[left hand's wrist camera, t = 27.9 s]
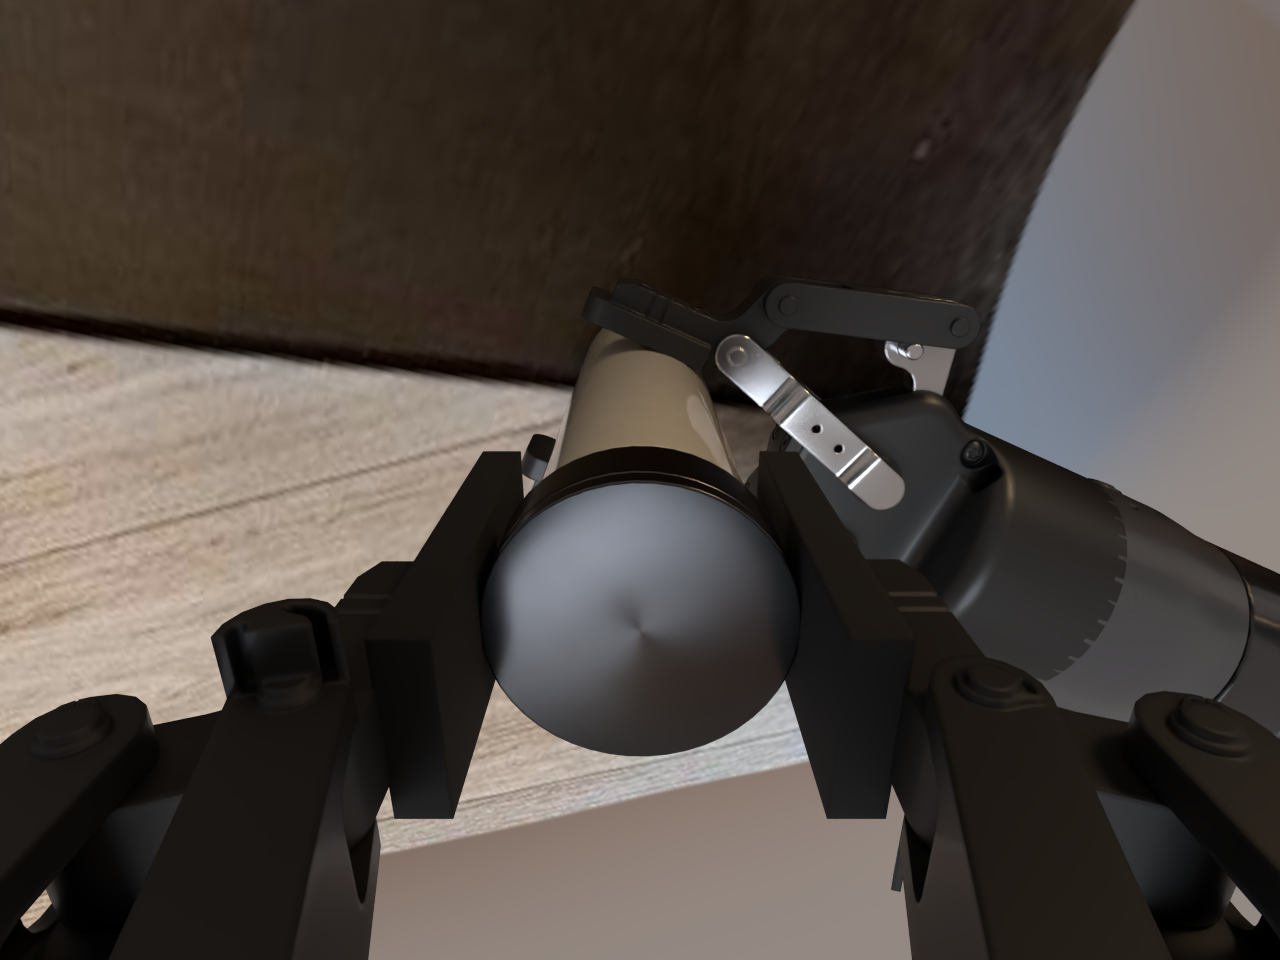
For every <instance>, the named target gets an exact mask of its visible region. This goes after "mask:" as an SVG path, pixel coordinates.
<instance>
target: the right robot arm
mask: <svg viewBox="0 0 1280 960" xmlns="http://www.w3.org/2000/svg"><path fill="white" fill-rule="evenodd" d="M581 316H582V317H583V318H585V319H586V320H588V321H590V322H592V323H594V324H596V325H598V326H600V327H603V328H605V329H607V330H610V331H612V332H614V333H616V334H619V335H621V336H623V337H626V338H628V339H630V340H632V341H635V342H637V343H639V344H642V345H644V346H646V347H648V348H651V349H653V350H655V351H657V352H660V353H662V354H664V355H667V356H670V357H672V358H674V359H676V360H678V361H680V362H683V363H685V364H687V365H689V366H692V367H694V368H696V369H698V370H701V371H702V369H703V367H704V365H705V363H706V364H709V365H711V366H713V367H715V368H718V369H719V370H720V371H721V372H722V373H723V374H724V375H726V376H727V377H728V378H729V379H730V380H731V381H732V382H733V383H735V384H736V385H737V386H738V387H739V388H740V389H741V390H742V391H744V392H745V393H746V394H747V395H748V396H749V397H750V398H752V399H753V400H754V401H755V402H756V403H757V404H758V405H759V406H761V407H762V408H763V409H764V410H765V411H766V412H767V413H768V414H769V416H770V417H771V418H772V419H773V420H774V421H775V422H776V423H777V424H776V426H775V428H774V430H773V432H772V434H771V436H770V439H769V444H768V448H767V451H797V452H798V453H799V455H800V457H801V458H802V460H803V461H804V463H805V464H806V466H807V468H808V469H809V471H810V472H811V474H812V476H813V477H814V479H815V480H816V482H817V483H818V485H819V487H820V488H821V490H822V491H823V493H824V495H825V496H826V498H827V499H828V501H829V502H830V504H831V506H832V507H833V509H834V510H835V512H836V513H837V515H838V517H839V518H840V520H841V521H842V523H843V525H844V526H845V528H846V529H847V531H848V532H849V534H850V536H851V537H852V539H853V540H854V542H855V544H856V545H857V547H858V548H859V550H860V551H861V553H862V555H863V556H864V558H865V559H899V560H901V561H902V562H904V563H906V564H907V565H909V566H910V567H912V568H913V569H915V570H917V571H918V572H920V573H921V574H923V575H924V576H925V578H926V579H927V580H928V582H929V583H930V584H931V586H932V587H933V588H934V590H935V591H936V592H937V597H941V599H942V600H943V601H944V603H945V604H946V605H947V607H948V608H949V609H948V610H949V612H952V613H953V615H954V616H955V617H956V618H957V620H958V621H959V622H960V624H961V625H962V626H963V628H964V629H965V630H966V632H967V633H968V634H969V636H970V637H971V638H972V639H973V641H974V642H975V643H976V645H977V646H978V647H979V649H980V650H981V651H982V653H983V654H984V655H985V657H987V658H992V659H996V660H1000V661H1003V662H1006V663H1008V664H1010V665H1013V666H1015V667H1017V668H1019V669H1022V670H1024V671H1025V672H1027V673H1028V674H1030V675H1031V676H1032V677H1034V678H1035V679H1037V680H1038V681H1039V682H1041V683H1042V684H1043V685H1044V686H1045V688H1046V689H1047V690H1048V692H1049V693H1050V694H1051V696H1052V697H1053V699H1054V701H1055V703H1056V705H1057V707H1060V708H1064V709H1068V710H1071V711H1075V712H1080V713H1085V714H1090V715H1095V716H1100V717H1105V718H1110V719H1114V720H1119V721H1124V722H1129V720H1130V717H1131V713H1132V710H1133V707H1134V704H1135V702H1136V701H1137V700H1138V699H1140V698H1141V697H1142V696H1143V695H1145V694H1147V693H1154V692H1161V691H1170V692H1179V693H1187V694H1194V695H1198V696H1203V698H1209V699H1212V700H1215V701H1218V702H1221V703H1223V704H1224V705H1226V706H1228V707H1230V708H1232V709H1234V710H1236V711H1239V712H1241V713H1243V714H1245V715H1247V716H1248V717H1250V718H1251V719H1253V720H1254V721H1256V722H1257V723H1259V724H1260V725H1262V726H1263V727H1265V728H1266V729H1268V730H1269V731H1270V732H1272V733H1273V734H1274V735H1275V736H1276V737H1278V738H1279V739H1280V574H1278V573H1276V572H1274V571H1272V570H1270V569H1267V568H1265V567H1263V566H1261V565H1258V564H1256V563H1254V562H1252V561H1250V560H1247V559H1245V558H1243V557H1241V556H1239V555H1236V554H1234V553H1232V552H1230V551H1227V550H1225V549H1223V548H1221V547H1219V546H1216V545H1214V544H1212V543H1210V542H1207V541H1205V540H1203V539H1201V538H1200V537H1198V536H1196V535H1194V534H1193V533H1191V532H1190V531H1188V530H1187V529H1185V528H1184V527H1182V526H1181V525H1179V524H1178V523H1176V522H1175V521H1173V520H1172V519H1170V518H1169V517H1167V516H1165V515H1164V514H1162V513H1160V512H1159V511H1157V510H1155V509H1153V508H1151V507H1149V506H1147V505H1145V504H1142V503H1140V502H1138V501H1136V500H1134V499H1131V498H1129V497H1127V496H1125V495H1123V494H1122V493H1121V492H1120V491H1119V490H1117V489H1115V488H1114V487H1113V486H1111V485H1109V484H1107V483H1104V482H1101V481H1098V480H1095V479H1090V478H1085V477H1083V476H1081V475H1079V474H1077V473H1074V472H1072V471H1070V470H1068V469H1066V468H1063V467H1061V466H1059V465H1057V464H1054V463H1052V462H1050V461H1048V460H1046V459H1043V458H1041V457H1039V456H1037V455H1034V454H1032V453H1030V452H1028V451H1026V450H1024V449H1021V448H1019V447H1017V446H1015V445H1013V444H1010V443H1008V442H1006V441H1004V440H1002V439H999V438H997V437H995V436H993V435H991V434H988V433H986V432H984V431H982V430H980V429H977V428H975V427H973V426H971V425H969V424H967V423H965V422H964V421H963V420H962V419H961V418H960V417H959V415H958V413H957V412H956V410H955V408H954V407H953V405H952V404H951V403H950V402H949V401H948V400H947V399H946V398H945V397H943V393H944V389H945V386H946V382H947V379H948V376H949V372H950V369H951V365H952V362H953V358H954V355H955V351H956V349H961V348H964V347H966V346H968V345H970V344H971V343H972V342H973V341H974V340H975V339H976V338H977V336H978V334H979V332H980V329H981V318H980V315H979V314H978V312H977V311H976V310H975V309H974V308H972V307H970V306H968V305H964V304H961V303H958V302H955V301H951V300H948V299H945V298H942V297H939V296H935V295H931V294H924V293H916V292H908V291H900V290H893V289H885V288H877V287H869V286H862V285H854V284H846V283H838V282H831V281H823V280H815V279H807V278H800V277H792V276H784V275H776V274H772V275H767V276H765V277H763V278H762V279H760V280H759V281H758V282H757V284H756V285H755V287H754V290H753V292H752V293H751V294H750V295H749V296H748V297H747V298H746V299H745V300H744V301H743V302H742V303H741V304H740V305H739V306H738V307H737V308H736V309H734V310H733V311H731V312H728V313H725V314H713V313H710V312H707V311H705V310H703V309H701V308H699V307H696V306H694V305H692V304H690V303H688V302H685V301H683V300H681V299H679V298H677V297H674V296H672V295H670V294H667V293H666V292H663V291H661V290H659V289H657V288H654V287H652V286H650V285H648V284H646V283H643V282H641V281H639V280H636V279H618V281H617V284H616V286H615V289H614V291H613V293H610V292H608V291H606V290H603V289H601V288H598V287H593V288H592V289H591V291H590V293H589V296H588V298H587V301H586V303H585V306H584V308H583V311H582V313H581ZM788 329H796V330H804V331H812V332H820V333H828V334H836V335H844V336H852V337H860V338H868V339H875V347H876V351H877V353H878V354H879V355H880V356H881V357H882V358H883V359H885V360H886V361H888V362H890V363H891V364H893V365H895V366H897V367H900V369H901V370H902V373H903V383H901V384H896V385H891V386H886V387H882V388H877V389H872V390H867V391H862V392H858V393H853V394H848V395H843V396H838V397H833V398H829V399H824V400H822V399H821V398H819V397H818V396H817V395H816V394H815V393H814V392H813V391H812V390H811V389H810V388H809V387H807V386H806V385H805V384H804V383H803V382H802V381H801V380H800V379H799V378H798V377H797V376H795V375H794V374H793V373H792V372H791V371H790V370H789V369H788V368H787V367H786V366H784V365H783V364H782V363H781V362H780V361H778V360H777V359H776V358H775V357H774V356H773V355H772V354H771V353H770V352H769V351H767V349H768V348H769V347H770V346H771V345H772V344H773V343H774V342H775V341H776V340H777V339H778V338H779V337H780V336H781V335H783V334H784V333H785V332H786V331H787V330H788ZM555 441H556V439H553V438H551V437H548V436H545V435H541V434H534V435H533V436H532V439H531V441H530V443H529V445H528V447H527V450H526V452H525V455H524V457H523V460H522V462H521V464H522V474H523V475H525V476H526V477H528V478H530V479H532V480H535V483H534V485H533V488H534V487H535V486H536V485H537V484H538V483H539V482H540V481H541V480H542V477H543V474H544V471H545V468H546V466H547V463H548V460H549V457H550V455H551V452H552V449H553V446H554V443H555ZM758 470H759V466H758V468H757V469H756V470H755V471H754V472H753V473H752V474H751V475H750V476H749V477H748V479H747V481H746V483H745V486H746V487H747V488H748V489H749V490H750V491H751V492H752V493H753V494H754V495H755V497H756V498H757V485H758ZM533 488H532V489H533Z"/></svg>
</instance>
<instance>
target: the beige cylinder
mask: <svg viewBox="0 0 1280 960" xmlns="http://www.w3.org/2000/svg"><path fill="white" fill-rule="evenodd" d="M627 446H655V447H662V448H669V449H675V450H678V451H682V452H686V453H689V454H693V455H695V456H698V457H700V458H703V459H705V460H707V461H710V462H712V463H713V464H715V465H717V466H719V467H720V468H722V469H724V470H726V471H727V472H729V473H730V474H731V475H733V476H734V477H735V478H736V479H738V480H739V481H740V482H742V480H741V478H740V475H739V472H738V469H737V467H736V464H735V461H734V458H733V456H732V453H731V450H730V447H729V445H728V442H727V439H726V436H725V434H724V431H723V428H722V426H721V423H720V420H719V417H718V415H717V412H716V409H715V406H714V404H713V401H712V398H711V395H710V393H709V390H708V387H707V385H706V382H705V379H704V376H703V374H702V371H701V370H698V369H696V368H694V367H692V366H689V365H687V364H685V363H683V362H680V361H678V360H676V359H674V358H672V357H670V356H667V355H664V354H662V353H660V352H657V351H655V350H653V349H651V348H648V347H646V346H644V345H642V344H639V343H637V342H635V341H632V340H630V339H628V338H626V337H623V336H621V335H619V334H616V333H614V332H612V331H610V330H607V329H605V328H602V329H601V330H600V331H599V332H598V333H597V335H596V336H595V338H594V339H593V340H592V342H591V344H590V346H589V349H588V352H587V354H586V357H585V360H584V363H583V365H582V368H581V371H580V374H579V377H578V379H577V382H576V385H575V388H574V391H573V393H572V396H571V399H570V402H569V404H568V407H567V410H566V413H565V416H564V418H563V421H562V424H561V427H560V429H559V432H558V435H557V438H556V441H555V443H554V446H553V449H552V452H551V455H550V457H549V460H548V463H547V466H546V468H545V471H544V474H543V477H542V480H543V479H544V478H545V477H547V476H548V475H550V474H551V473H552V472H554V471H555V470H557V469H558V468H560V467H562V466H564V465H566V464H568V463H569V462H571V461H573V460H575V459H578V458H581V457H583V456H586V455H589V454H591V453H594V452H598V451H603V450H607V449H611V448H618V447H627ZM542 480H541V481H542Z"/></svg>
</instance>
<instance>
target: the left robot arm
mask: <svg viewBox="0 0 1280 960" xmlns="http://www.w3.org/2000/svg"><path fill="white" fill-rule="evenodd" d="M523 499H524V494H523V479H522V464H521V451H483V453H482V454H481V456H480V457H479V459H478V460H477V462H476V464H475V465H474V467H473V468H472V470H471V471H470V473H469V475H468V476H467V478H466V479H465V481H464V483H463V484H462V486H461V487H460V489H459V490H458V492H457V494H456V495H455V497H454V498H453V500H452V502H451V503H450V505H449V506H448V508H447V509H446V511H445V513H444V514H443V516H442V517H441V519H440V521H439V522H438V524H437V525H436V527H435V528H434V530H433V532H432V533H431V535H430V536H429V538H428V540H427V541H426V543H425V544H424V546H423V547H422V549H421V551H420V552H419V554H418V555H417V557H416V558H415V560H414V561H382V562H380V563H379V564H377V565H376V566H374V567H373V568H371V569H369V570H368V571H366V572H365V573H363V574H362V575H360V576H359V577H357V579H356V580H355V581H354V583H353V584H352V585H351V586H350V588H349V589H348V590H347V592H346V593H345V594H344V599H341V600H340V601H339V602H338V604H337V605H336V606H335V607H333V606H332V605H331V604H329V603H328V602H325V601H320V600H316V599H311V598H304V599H286V600H281V601H276V602H271V603H266V604H263V605H260V606H257V607H255V608H252V609H249V610H247V611H244V612H242V613H240V614H238V615H237V616H235V617H233V618H232V619H230V620H229V621H227V622H225V623H224V624H222V625H221V626H220V628H219V629H218V630H217V631H216V632H215V633H214V634H213V635H212V636H211V640H212V644H213V648H214V652H215V655H216V659H217V663H218V667H219V670H220V674H221V678H222V682H223V686H224V689H225V693H226V697H227V700H226V702H225V704H224V706H223V709H222V710H221V711H217V712H213V713H210V714H206V715H201V716H196V717H191V718H186V719H181V720H176V721H171V722H166V723H162V724H157V725H153V724H152V721H151V718H150V715H149V712H148V708H147V705H146V704H144V703H143V702H142V701H141V700H139V699H138V698H137V697H134V696H127V695H120V694H112V695H103V696H95V697H89V698H84V699H80V700H79V701H76V702H75V701H73V702H70V703H67V704H64V705H61V706H59V707H58V708H56V709H54V710H52V711H50V712H48V713H46V714H44V715H41V716H39V717H37V718H35V719H34V720H32V721H31V722H29V723H28V724H26V725H25V726H23V727H22V728H21V729H19V730H18V731H16V732H15V733H13V734H12V735H11V736H9V737H8V738H7V739H6V740H5V741H4V742H2V743H1V744H0V960H368V956H369V947H370V938H371V929H372V920H373V911H374V902H375V893H376V884H377V875H378V866H379V857H380V848H381V844H380V837H379V831H378V825H377V820H376V816H377V813H378V811H379V809H380V806H381V804H382V802H383V799H384V797H385V795H386V792H387V790H388V788H389V789H390V795H391V801H392V806H393V812H394V818H395V819H453V818H454V815H455V812H456V808H457V805H458V802H459V798H460V795H461V792H462V788H463V785H464V782H465V779H466V775H467V772H468V769H469V765H470V762H471V759H472V755H473V752H474V749H475V746H476V742H477V739H478V736H479V732H480V729H481V726H482V723H483V719H484V716H485V713H486V709H487V706H488V703H489V699H490V696H491V693H492V690H493V686H494V683H495V680H496V679H495V677H494V675H493V673H492V672H491V669H490V667H489V664H488V662H487V659H486V657H485V654H484V651H483V646H482V639H481V629H480V618H479V606H480V597H481V593H482V589H483V584H484V581H485V578H486V576H487V573H488V571H489V568H490V566H491V563H492V561H493V558H494V556H495V554H496V551H497V549H498V546H499V544H500V541H501V539H502V537H503V534H504V532H505V529H506V527H507V524H508V522H509V520H510V519H511V517H512V515H513V513H514V512H515V510H516V508H517V507H518V505H519V504H520V503H521V502H522V500H523ZM757 499H758V501H759V502H760V503H761V505H762V506H763V507H764V509H765V510H766V512H767V514H768V516H769V517H770V519H771V521H772V523H773V525H774V527H775V529H776V532H777V534H778V537H779V539H780V541H781V544H782V546H783V549H784V551H785V553H786V556H787V559H788V561H789V563H790V565H791V568H792V571H793V573H794V576H795V579H796V582H797V585H798V589H799V594H800V599H801V605H802V607H801V624H800V634H799V643H798V649H797V653H796V657H795V659H794V662H793V664H792V666H791V669H790V671H789V673H788V675H787V677H786V679H785V682H786V685H787V688H788V691H789V695H790V698H791V701H792V705H793V708H794V711H795V715H796V718H797V721H798V724H799V728H800V731H801V734H802V738H803V741H804V744H805V747H806V751H807V754H808V757H809V761H810V764H811V767H812V770H813V774H814V777H815V780H816V784H817V787H818V790H819V794H820V797H821V800H822V804H823V807H824V810H825V813H826V817H827V819H886V815H887V809H888V803H889V797H890V792H891V786H893V788H894V790H895V792H896V795H897V797H898V799H899V802H900V804H901V806H902V809H903V811H904V813H905V814H904V820H903V825H902V831H901V836H900V842H899V847H898V852H897V858H896V863H895V869H894V874H893V881H892V887H891V890H894V891H899V892H900V891H901V886H902V881H903V882H904V891H905V900H906V909H907V918H908V927H909V936H910V945H911V954H912V960H1280V739H1279V738H1278V737H1276V736H1275V735H1274V734H1273V733H1272V732H1270V731H1269V730H1268V729H1266V728H1265V727H1263V726H1262V725H1260V724H1259V723H1257V722H1256V721H1254V720H1253V719H1251V718H1250V717H1248V716H1247V715H1245V714H1243V713H1241V712H1239V711H1236V710H1234V709H1232V708H1230V707H1228V706H1226V705H1224V704H1223V703H1221V702H1218V701H1215V700H1212V699H1209V698H1203V696H1198V695H1194V694H1187V693H1179V692H1170V691H1161V692H1154V693H1147V694H1145V695H1143V696H1142V697H1141V698H1140V699H1138V700H1137V701H1136V702H1135V704H1134V707H1133V710H1132V713H1131V717H1130V720H1129V722H1124V721H1119V720H1114V719H1110V718H1105V717H1100V716H1095V715H1090V714H1085V713H1080V712H1075V711H1071V710H1068V709H1064V708H1060V707H1057V705H1056V703H1055V701H1054V699H1053V697H1052V696H1051V694H1050V693H1049V692H1048V690H1047V689H1046V688H1045V686H1044V685H1043V684H1042V683H1041V682H1039V681H1038V680H1037V679H1035V678H1034V677H1032V676H1031V675H1030V674H1028V673H1027V672H1025V671H1024V670H1022V669H1019V668H1017V667H1015V666H1013V665H1010V664H1008V663H1006V662H1003V661H1000V660H996V659H992V658H987V657H985V655H984V654H983V653H982V651H981V650H980V649H979V647H978V646H977V645H976V643H975V642H974V641H973V639H972V638H971V637H970V636H969V634H968V633H967V632H966V630H965V629H964V628H963V626H962V625H961V624H960V622H959V621H958V620H957V618H956V617H955V616H954V615H953V613H952V612H949V610H948V609H949V608H948V607H947V605H946V604H945V603H944V601H943V600H942V599H941V597H937V592H936V591H935V590H934V588H933V587H932V586H931V584H930V583H929V582H928V580H927V579H926V578H925V576H924V575H923V574H921V573H920V572H918V571H917V570H915V569H913V568H912V567H910V566H909V565H907V564H906V563H904V562H902V561H901V560H899V559H865V558H864V556H863V555H862V553H861V551H860V550H859V548H858V547H857V545H856V544H855V542H854V540H853V539H852V537H851V536H850V534H849V532H848V531H847V529H846V528H845V526H844V525H843V523H842V521H841V520H840V518H839V517H838V515H837V513H836V512H835V510H834V509H833V507H832V506H831V504H830V502H829V501H828V499H827V498H826V496H825V495H824V493H823V491H822V490H821V488H820V487H819V485H818V483H817V482H816V480H815V479H814V477H813V476H812V474H811V472H810V471H809V469H808V468H807V466H806V464H805V463H804V461H803V460H802V458H801V457H800V455H799V453H798V452H797V451H760V455H759V470H758V485H757ZM1236 886H1237V887H1238V888H1239V889H1240V890H1241V891H1242V893H1243V894H1244V895H1245V896H1246V897H1247V898H1248V900H1249V901H1250V902H1251V903H1252V904H1253V905H1254V906H1255V908H1256V909H1257V910H1258V911H1259V912H1260V913H1261V914H1262V916H1261V918H1260V920H1259V922H1258V924H1257V925H1256V926H1253V925H1252V924H1251V923H1250V922H1249V921H1248V920H1246V919H1245V918H1244V917H1243V916H1242V915H1241V914H1240V912H1239V911H1238V910H1237V909H1236V908H1235V906H1234V905H1233V904H1232V903H1231V902H1230V899H1231V897H1232V895H1233V892H1234V890H1235V888H1236ZM45 889H46V891H47V893H48V896H49V898H50V900H51V902H52V904H51V905H50V906H49V908H48V909H47V910H46V911H45V912H44V914H43V915H42V916H41V917H40V918H39V919H38V920H37V921H36V922H35V923H33V924H32V925H31V926H30V927H29V928H28V929H27V928H26V927H24V925H23V923H22V921H21V919H20V918H21V917H22V916H23V915H24V914H25V912H26V911H27V910H28V909H29V908H30V907H31V905H32V904H33V903H34V902H35V901H36V900H37V899H38V897H39V896H40V895H41V894H42V893H43V892H44V890H45Z"/></svg>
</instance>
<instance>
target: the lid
mask: <svg viewBox="0 0 1280 960" xmlns="http://www.w3.org/2000/svg"><path fill="white" fill-rule="evenodd" d="M801 607H802V605H801V599H800V594H799V589H798V585H797V582H796V579H795V576H794V573H793V571H792V568H791V565H790V563H789V561H788V559H787V556H786V553H785V551H784V549H783V546H782V544H781V541H780V539H779V537H778V534H777V532H776V529H775V527H774V525H773V523H772V521H771V519H770V517H769V516H768V514H767V512H766V510H765V509H764V507H763V506H762V505H761V503H760V502H759V501H758V499H757V498H756V497H755V495H754V494H753V493H752V492H751V491H750V490H749V489H748V488H747V487H746V486H745V485H744V484H743V483H742V482H740V481H739V480H738V479H736V478H735V477H734V476H733V475H731V474H730V473H729V472H727V471H726V470H724V469H722V468H720V467H719V466H717V465H715V464H713V463H712V462H710V461H707V460H705V459H703V458H700V457H698V456H695V455H693V454H689V453H686V452H682V451H678V450H675V449H669V448H662V447H655V446H627V447H618V448H611V449H607V450H603V451H598V452H594V453H591V454H589V455H586V456H583V457H581V458H578V459H575V460H573V461H571V462H569V463H568V464H566V465H564V466H562V467H560V468H558V469H557V470H555V471H554V472H552V473H551V474H550V475H548V476H547V477H545V478H544V479H543V480H542V481H540V482H539V483H538V484H537V485H536V486H535V487H534V488H533V489H532V490H531V491H530V492H529V493H528V494H527V495H526V497H525V498H524V499H523V500H522V502H521V503H520V504H519V505H518V507H517V508H516V510H515V512H514V513H513V515H512V517H511V519H510V520H509V522H508V524H507V527H506V529H505V532H504V534H503V537H502V539H501V541H500V544H499V546H498V549H497V551H496V554H495V556H494V558H493V561H492V563H491V566H490V568H489V571H488V573H487V576H486V578H485V581H484V584H483V589H482V593H481V597H480V606H479V618H480V629H481V639H482V646H483V651H484V654H485V657H486V659H487V662H488V664H489V667H490V669H491V672H492V673H493V675H494V677H495V679H496V680H497V682H498V684H499V686H500V687H501V689H502V690H503V691H504V693H505V694H506V695H507V696H508V698H509V699H510V700H511V702H512V703H513V704H514V705H515V706H516V707H517V708H518V709H519V710H520V711H521V712H522V713H523V714H524V715H526V716H527V717H528V718H530V719H531V720H532V721H533V722H535V723H536V724H537V725H538V726H540V727H542V728H543V729H545V730H547V731H548V732H550V733H552V734H553V735H555V736H557V737H559V738H561V739H563V740H566V741H568V742H570V743H572V744H575V745H578V746H581V747H584V748H587V749H590V750H594V751H599V752H603V753H607V754H615V755H623V756H657V755H667V754H672V753H678V752H683V751H687V750H690V749H694V748H697V747H700V746H703V745H706V744H708V743H711V742H713V741H715V740H717V739H720V738H722V737H724V736H726V735H727V734H729V733H731V732H733V731H734V730H736V729H738V728H739V727H741V726H742V725H743V724H745V723H746V722H747V721H749V720H750V719H751V718H753V717H754V716H755V715H756V714H757V713H758V712H759V711H760V710H761V709H762V708H763V707H765V706H766V705H767V703H768V702H769V701H770V700H771V699H772V697H773V696H774V695H775V694H776V692H777V691H778V690H779V688H780V687H781V685H782V683H783V682H784V680H785V679H786V677H787V675H788V673H789V671H790V669H791V666H792V664H793V662H794V659H795V657H796V653H797V649H798V643H799V634H800V624H801Z"/></svg>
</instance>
